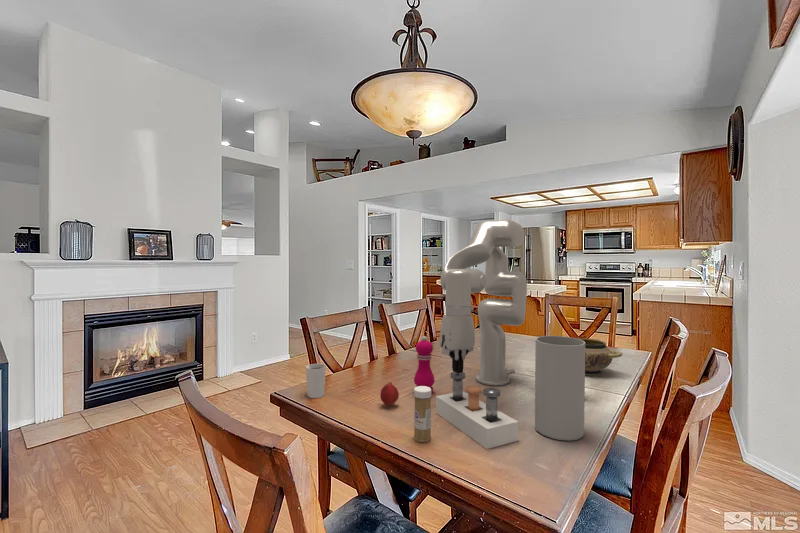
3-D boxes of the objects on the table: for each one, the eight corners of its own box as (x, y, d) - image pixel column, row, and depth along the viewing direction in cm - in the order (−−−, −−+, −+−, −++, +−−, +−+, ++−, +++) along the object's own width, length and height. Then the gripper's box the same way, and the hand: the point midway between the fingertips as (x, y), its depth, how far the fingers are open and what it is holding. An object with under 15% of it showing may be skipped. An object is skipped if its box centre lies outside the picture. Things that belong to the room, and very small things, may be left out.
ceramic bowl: (623, 380, 158) (625, 343, 160) (618, 380, 143) (620, 339, 146) (560, 370, 172) (562, 336, 174) (550, 369, 158) (552, 332, 160)
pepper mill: (433, 397, 131) (433, 338, 131) (412, 395, 133) (412, 337, 132) (435, 389, 139) (435, 334, 138) (415, 388, 140) (415, 333, 139)
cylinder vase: (559, 445, 98) (560, 347, 97) (525, 425, 109) (525, 338, 108) (594, 436, 103) (596, 343, 102) (558, 418, 114) (559, 334, 113)
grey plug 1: (459, 396, 120) (459, 370, 119) (468, 401, 116) (468, 374, 115) (447, 398, 118) (447, 372, 117) (455, 403, 114) (455, 376, 113)
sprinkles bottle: (410, 439, 101) (410, 388, 101) (420, 433, 105) (420, 384, 104) (424, 444, 98) (424, 392, 98) (434, 438, 102) (434, 387, 101)
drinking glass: (316, 390, 138) (316, 362, 138) (329, 394, 134) (329, 365, 134) (302, 395, 133) (301, 367, 132) (315, 400, 129) (315, 370, 129)
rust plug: (475, 411, 112) (475, 384, 112) (484, 417, 108) (484, 389, 108) (462, 414, 110) (462, 386, 110) (471, 420, 106) (471, 391, 106)
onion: (385, 411, 120) (385, 385, 119) (377, 404, 125) (377, 380, 124) (401, 407, 122) (401, 382, 122) (393, 401, 127) (393, 377, 127)
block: (463, 406, 123) (463, 391, 123) (518, 440, 100) (518, 421, 100) (435, 412, 119) (435, 396, 119) (487, 448, 96) (487, 429, 96)
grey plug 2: (493, 415, 105) (493, 386, 105) (503, 422, 101) (504, 391, 101) (479, 418, 103) (480, 389, 103) (490, 425, 99) (490, 394, 99)
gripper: (471, 308, 122) (470, 366, 123) (430, 311, 116) (430, 371, 117) (486, 311, 116) (485, 372, 116) (443, 314, 109) (443, 379, 110)
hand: (457, 371), depth 116 cm, fingers closed
